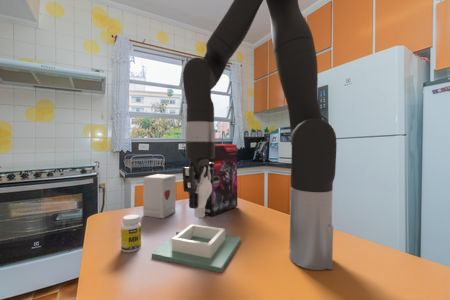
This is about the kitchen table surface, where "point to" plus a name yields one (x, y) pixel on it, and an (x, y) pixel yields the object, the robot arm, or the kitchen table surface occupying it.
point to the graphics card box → (223, 180)
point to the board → (199, 247)
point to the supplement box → (158, 195)
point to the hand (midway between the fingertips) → (199, 204)
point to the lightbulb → (203, 197)
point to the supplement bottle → (131, 233)
